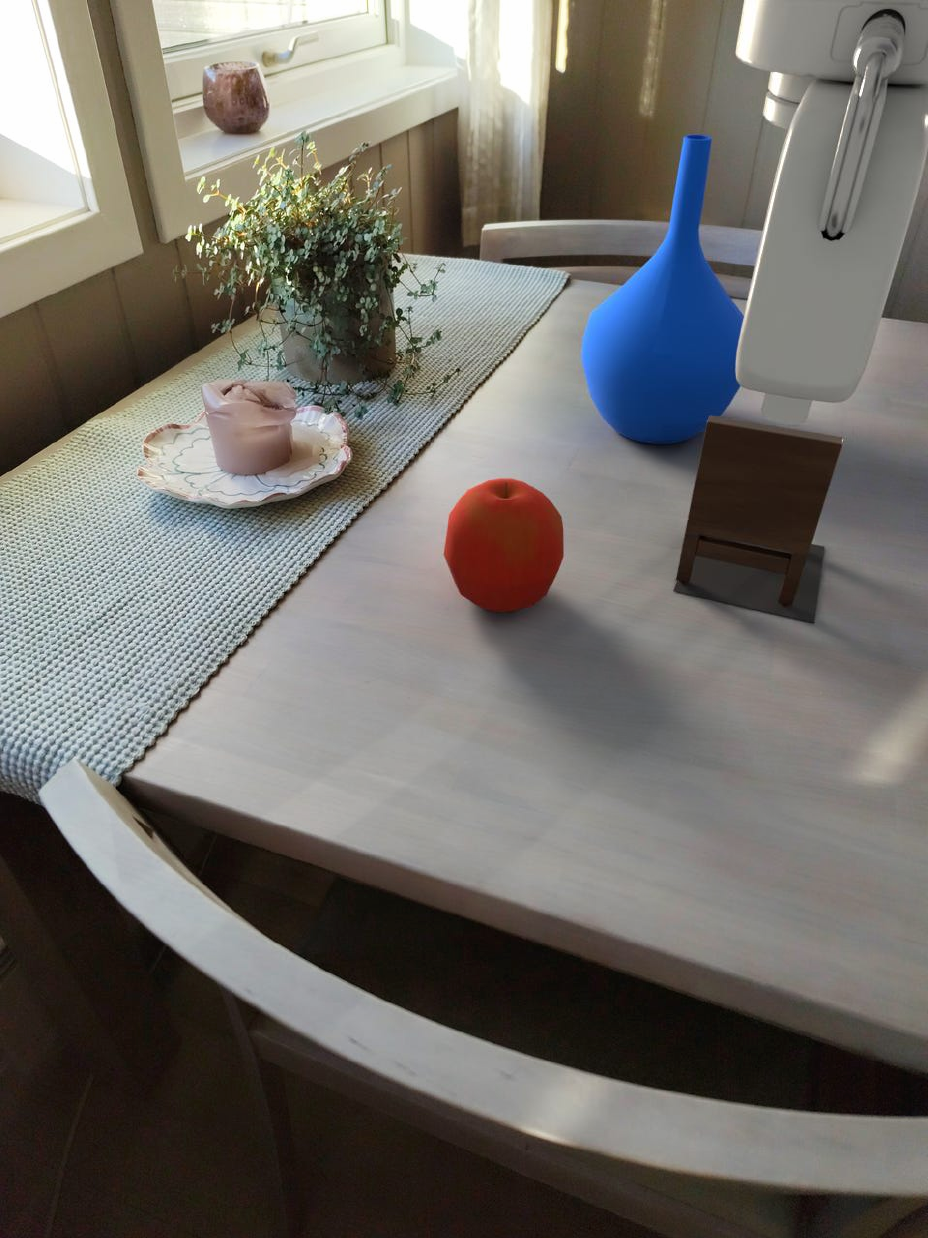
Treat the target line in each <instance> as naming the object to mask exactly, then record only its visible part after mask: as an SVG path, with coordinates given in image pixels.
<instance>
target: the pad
mask: <svg viewBox="0 0 928 1238" xmlns="http://www.w3.org/2000/svg"><path fill="white" fill-rule="evenodd" d="M700 535H703V536H708V537H713V538H717V539H722V540H727V541H732V542H737V543H742V544H747V545H752V546H756V547H761V548H766V549H771V550H776V551H781V552H786V553H790V554H791V553H792V552H789V551H784V550H779V549H774V548H769V547H764V546H759V545H755V544H750V543H745V542H740V541H735V540H730V539H725V538H720V537H716V536H711V535H706V534H701V533H700ZM824 554H825V546H824V545H819V544H814V543H812V544H811V547H810V550H809V553H808V557H807V560H806V563H805V566H804V569H803V573H802V576H801V579H800V582H799V585H798V589H797V592H796V595H795V598H794V601H793V605H792V606H791V605H788V606H783V605H781V604H780V603H778V599H779V594H780V590H781V587H782V584H783V580H784V577H785V574H780V573H775V572H770V571H766V570H761V569H756V568H752V567H747V566H742V565H737V564H733V563H728V562H723V561H719V560H714V559H709V558H705V557H700V556H696V557H695V562H694V567H693V571H692V576H691V579H690V582H689V583H688V582H687V583H681V582H679V580H676V581H675V584H674V587H673V590H672V591H673V592H675V593H680V594H684V595H686V596H687V595H688V596H692V597H697V598H701V599H705V600H710V601H714V602H718V603H722V604H723V603H724V604H728V605H732V606H737V607H741V608H744V609H750V610H754V611H758V612H761V613H768V614H771V615H776V616H781V617H783V618H789V619H794V620H797V621H802V622H807V623H811V624H815V622H816V614H817V607H818V599H819V592H820V591H819V590H820V583H821V577H822V571H823V570H822V568H823V561H824Z"/></svg>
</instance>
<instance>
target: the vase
mask: <svg viewBox="0 0 928 1238" xmlns="http://www.w3.org/2000/svg"><path fill="white" fill-rule="evenodd" d="M712 140H713V137H712V136H710V135H706V134H685V135H684V136H683V141H682V145H681V153H680V158H679V164H678V169H677V174H676V175H677V176H676V181H675V187H674V192H673V193H674V194H673V199H672V205H671V212H670V220H669V227H668V231H667V233H666V235H665V237H664V240H663V242H662V243H661V245H660V246H659V248H658V249H657V251H656V252H655V253H654V255H653V256H651V257H650V258H649V260H647V262H645V263H644V265H642V266H641V267H640V268H639V269H638V270H637V271H636V272H635V273H634V274H633V275H632V276H631V277H630V278H629V279H627V280H626V282H625V283H623V285H621V286H620V287H619V288H618V289H617V290H615V292H613V293H612V294H610V296H609V297H607V298H606V299H605V300H604V301H602V303H600V304H599V305H598V306H597V307H596V308H595V309H593V310H592V311H591V312H590V315H589V318H588V320H587V324H586V327H585V330H584V333H583V336H582V340H581V352H580V360H581V364H582V368H583V372H584V376H585V380H586V385H587V388H588V393H589V395H590V396H589V397H590V398H591V400H592V402H593V404H594V406H595V407H596V409H597V411H598V413H599V415H600V416H601V417H602V418H603V419H604V420H605V421H606V423H608V425H609V426H610V427H611V428H612V429H613V430H614V431H615V432H616V433H618V434H620V435H621V436H623V437H626V438H627V439H630V440H632V441H636V442H641V443H644V444H653V445H671V444H678V443H682V442H685V441H687V440H690V439H691V438H693V437H695V436H697V435H698V434H700V433H702V432H703V431H705V429H706V424H707V420H708V418H709V416H710V415H712V416H718V417H721V416H722V415H723V414H724V413H725V411H726V410H727V409H728V408H729V406H730V405H731V403H732V401H733V399H734V398H735V396H736V395H737V393H738V392H739V390H740V388H741V386H740V384H739V383H738V382H737V379H736V372H735V368H736V354H737V348H738V342H739V337H740V332H741V328H742V323H743V318H744V314H743V313H742V312H741V310H740V308H739V307H738V306H737V304H736V303H735V302H734V301H733V299H732V297H730V295H729V294H728V293H727V291H726V289H725V288H724V286H723V284H722V283H721V282H720V280H719V278H718V277H717V275H716V274H715V272H714V270H713V269H712V267H711V266H710V264H709V263H708V262H709V261H707V259H706V258H705V254H704V252H703V249H702V245H701V242H700V241H701V240H700V232H699V231H700V225H701V218H702V211H703V207H704V206H703V205H704V199H705V193H706V185H707V177H708V170H709V164H710V156H711V148H712V142H713V141H712Z"/></svg>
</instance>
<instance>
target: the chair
mask: <svg viewBox="0 0 928 1238" xmlns="http://www.w3.org/2000/svg"><path fill="white" fill-rule="evenodd" d="M843 442H844V437H843V436H837V435H832V434H827V433H819V432H814V431H808V430H803V429H802V430H801V429H796V428H789V427H783V426H777V425H771V424H765V423H759V422H754V421H747V420H741V419H736V418H729V417H724V416H719V417H718V416H712V415H710V416H709V418H708V420H707V424H706V429H705V430H704V434H703V440H702V445H701V451H700V456H699V460H698V464H697V465H698V466H697V471H696V475H695V481H694V486H693V491H692V495H691V501H690V505H689V512H688V516H687V521H686V526H685V532H684V537H683V542H682V546H681V552H680V557H679V562H678V567H677V572H676V577H675V580H676V581H677V580H679V582H681V583H687V582H688V583H689V582H690V579H691V576H692V571H693V567H694V562H695V557H696V556H700V557H705V558H709V559H714V560H719V561H723V562H728V563H733V564H737V565H742V566H747V567H752V568H756V569H761V570H766V571H770V572H775V573H780V574H785V577H784V580H783V584H782V587H781V590H780V594H779V599H778V603H780V604H781V605H783V606H788V605H791V606H792V605H793V601H794V598H795V595H796V592H797V589H798V585H799V582H800V579H801V576H802V573H803V569H804V566H805V563H806V560H807V557H808V553H809V550H810V547H811V544H813V541H814V538H815V534H816V531H817V528H818V524H819V522H820V518H821V514H822V512H823V508H824V505H825V502H826V499H827V495H828V492H829V489H830V486H831V483H832V480H833V476H834V473H835V471H836V467H837V465H838V464H837V463H838V460H839V457H840V454H841V451H842V448H843V445H844V443H843ZM700 533H701V534H706V535H711V536H716V537H720V538H725V539H730V540H735V541H740V542H745V543H750V544H755V545H759V546H764V547H769V548H774V549H779V550H784V551H789V552H792V553H791V554H790V553H786V552H781V551H776V550H771V549H766V548H761V547H756V546H752V545H747V544H742V543H737V542H732V541H727V540H722V539H717V538H713V537H708V536H703V535H700Z"/></svg>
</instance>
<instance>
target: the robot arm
mask: <svg viewBox="0 0 928 1238" xmlns="http://www.w3.org/2000/svg"><path fill="white" fill-rule="evenodd" d="M735 57H736V58H737V60H738V61H739V62H741V63H742V64H743V65H746V66H748V67H752V68H754V69H758V70H762V71H766V72H770V73H769V80H768V84H767V89H768V91H767V92H766V93H765V98H764V99H765V100H764V105H763V109H762V115H763V117H764V119H765V120H766V121H767V122H768V123H770V124H772V125H773V126H776V127H780V128H782V129H785V130H788V131H787V133H786V136H785V139H784V142H783V144H782V149H781V152H780V155H779V159H778V164H777V167H776V170H775V175H774V179H773V184H772V188H771V192H770V196H769V201H768V206H767V210H766V215H765V219H764V224H763V228H762V231H761V236H760V242H759V245H758V250H757V254H756V257H755V258H756V259H755V262H754V268H753V273H752V278H751V282H750V285H749V292H748V295H747V300H746V305H745V308H744V309H745V310H744V314H743V315H744V318H743V323H742V328H741V332H740V337H739V342H738V348H737V354H736V368H735V372H736V379H737V382H738V383H739V384H740V387H742V388H744V389H746V390H749V391H753V392H757V393H764V396H763V401H762V404H761V408H760V411H761V417H762V418H763V419H765V420H766V421H767V422H769V423H776V424H781V425H788V426H795V427H796V426H800V425H802V424H803V423H805V422H806V421H807V419H808V417H809V413H810V412H811V411H810V410H811V407H812V403H813V401H814V402H822V403H833V404H836V403H837V404H839V403H844V402H846V401H847V400H849V399H850V398H851V397H852V396H853V394H854V393H855V392H856V390H857V388H858V386H859V384H860V382H861V381H862V379H863V376H864V374H865V371H866V368H867V366H868V365H867V364H868V363H869V359H870V357H871V354H872V350H873V346H874V343H875V340H876V337H877V334H878V330H879V328H880V323H881V320H882V317H883V314H884V310H885V306H886V304H887V300H888V297H889V293H890V290H891V286H892V283H893V279H894V277H895V274H896V269H897V267H898V263H899V260H900V256H901V253H902V249H903V245H904V241H905V238H906V236H907V232H908V229H909V225H910V221H911V218H912V214H913V210H914V207H915V203H916V200H917V196H918V193H919V189H920V186H921V182H922V177H923V173H924V170H925V163H926V160H927V155H928V0H744V1H743V5H742V11H741V17H740V23H739V28H738V34H737V39H736V47H735Z"/></svg>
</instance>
